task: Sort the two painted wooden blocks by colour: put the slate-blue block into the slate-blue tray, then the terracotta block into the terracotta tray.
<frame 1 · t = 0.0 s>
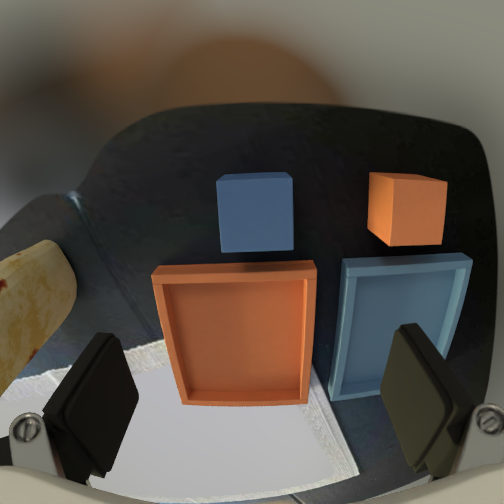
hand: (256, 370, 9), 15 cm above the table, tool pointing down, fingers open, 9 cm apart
blue tray: (396, 326, 26), on the table
terracotta block: (393, 201, 22), on the table
blue block: (256, 202, 22), on the table
terracotta tray: (239, 338, 26), on the table
food model: (57, 279, 25), on the table
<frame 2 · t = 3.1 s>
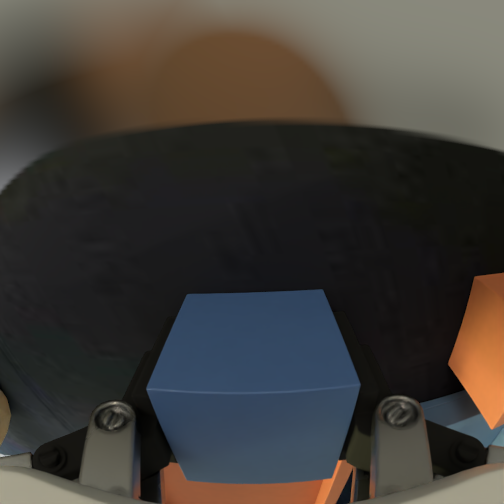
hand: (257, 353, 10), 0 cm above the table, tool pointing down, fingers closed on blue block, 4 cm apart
blue tray: (445, 451, 14), on the table
terracotta block: (494, 316, 10), on the table
blue block: (257, 346, 10), on the table, touching gripper
terracotta tray: (232, 485, 15), on the table
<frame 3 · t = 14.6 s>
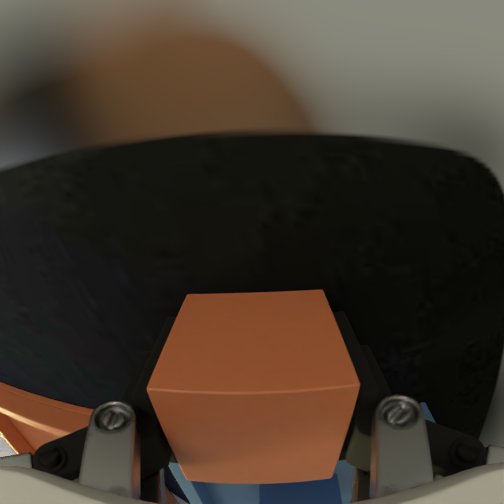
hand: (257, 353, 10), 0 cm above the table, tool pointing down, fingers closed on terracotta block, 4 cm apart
blue tray: (295, 484, 14), on the table
terracotta block: (257, 346, 10), on the table, touching gripper
blue block: (296, 491, 14), resting on blue tray
terracotta tray: (83, 461, 15), on the table
when the fingers open (1 cm above the table, at t = 21.2 s): terracotta block stays where it is, resting on terracotta tray.
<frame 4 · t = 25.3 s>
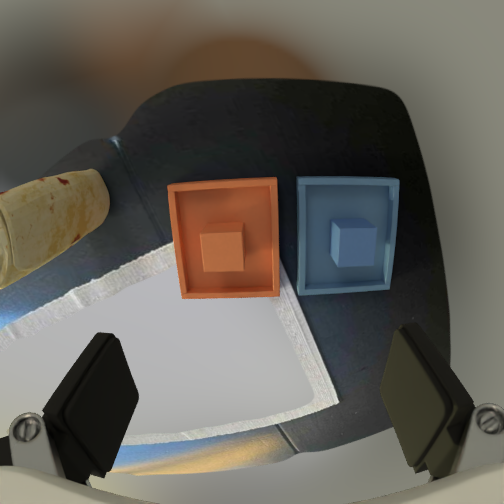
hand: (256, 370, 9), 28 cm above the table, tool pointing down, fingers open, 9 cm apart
blue tray: (345, 233, 37), on the table
terracotta block: (226, 240, 37), resting on terracotta tray
blue block: (346, 236, 36), resting on blue tray
terracotta tray: (226, 238, 37), on the table
food model: (93, 202, 36), on the table
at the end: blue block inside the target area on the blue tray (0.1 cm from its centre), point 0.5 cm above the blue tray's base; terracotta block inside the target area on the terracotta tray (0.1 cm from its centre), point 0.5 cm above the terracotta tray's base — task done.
